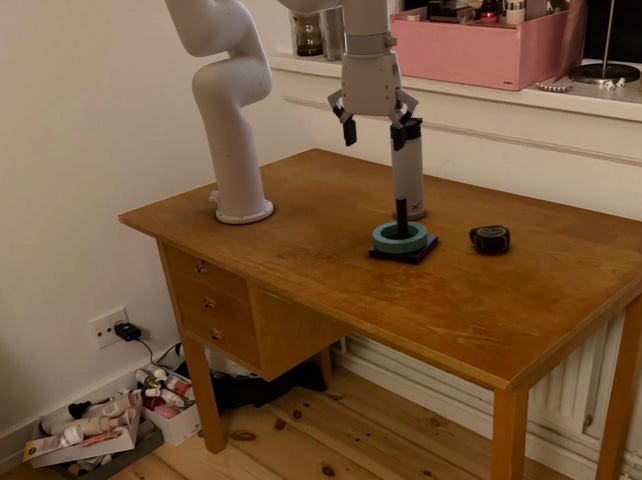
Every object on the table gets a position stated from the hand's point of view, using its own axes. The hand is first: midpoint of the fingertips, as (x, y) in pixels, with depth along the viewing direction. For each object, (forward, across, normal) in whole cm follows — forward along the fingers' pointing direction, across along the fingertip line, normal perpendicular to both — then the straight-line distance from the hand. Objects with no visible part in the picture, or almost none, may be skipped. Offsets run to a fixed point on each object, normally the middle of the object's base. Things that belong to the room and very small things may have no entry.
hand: (375, 146), depth 126 cm
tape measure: (+20, -20, -6) cm, 28 cm away
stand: (+20, -5, 0) cm, 20 cm away
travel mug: (+20, +1, -16) cm, 25 cm away
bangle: (+18, -4, 0) cm, 18 cm away
